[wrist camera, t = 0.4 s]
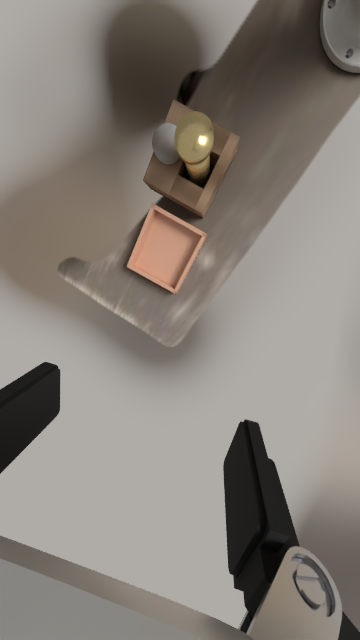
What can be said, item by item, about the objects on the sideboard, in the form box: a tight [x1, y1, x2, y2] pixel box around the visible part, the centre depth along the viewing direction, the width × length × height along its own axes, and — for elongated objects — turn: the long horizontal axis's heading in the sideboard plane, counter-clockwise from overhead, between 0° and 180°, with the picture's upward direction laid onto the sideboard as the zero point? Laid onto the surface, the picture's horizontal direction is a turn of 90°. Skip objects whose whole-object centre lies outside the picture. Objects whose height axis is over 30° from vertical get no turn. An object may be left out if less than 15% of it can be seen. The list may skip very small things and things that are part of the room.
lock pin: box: [174, 111, 214, 188], centre depth 26 cm, size 4×4×11 cm
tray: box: [127, 204, 208, 294], centre depth 34 cm, size 11×10×2 cm
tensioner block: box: [143, 100, 240, 218], centre depth 29 cm, size 10×10×6 cm
